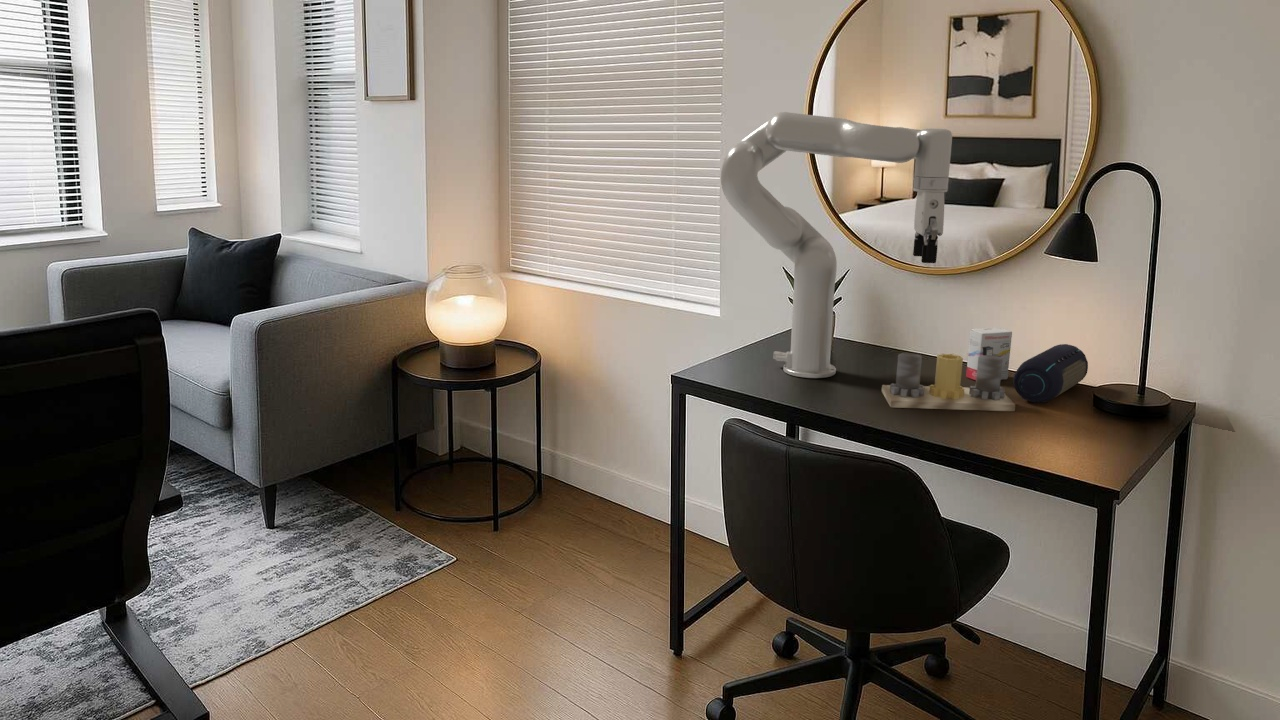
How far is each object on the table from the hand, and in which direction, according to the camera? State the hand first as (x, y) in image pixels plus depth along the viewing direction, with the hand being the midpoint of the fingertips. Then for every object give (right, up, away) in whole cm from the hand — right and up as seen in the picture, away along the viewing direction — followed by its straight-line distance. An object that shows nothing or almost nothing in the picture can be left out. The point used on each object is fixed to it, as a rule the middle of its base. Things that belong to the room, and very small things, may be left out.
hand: (924, 259), depth 225 cm
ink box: (+17, -28, +7) cm, 33 cm away
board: (+2, -32, -11) cm, 34 cm away
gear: (+2, -31, -11) cm, 33 cm away
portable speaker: (+27, -31, -5) cm, 41 cm away
